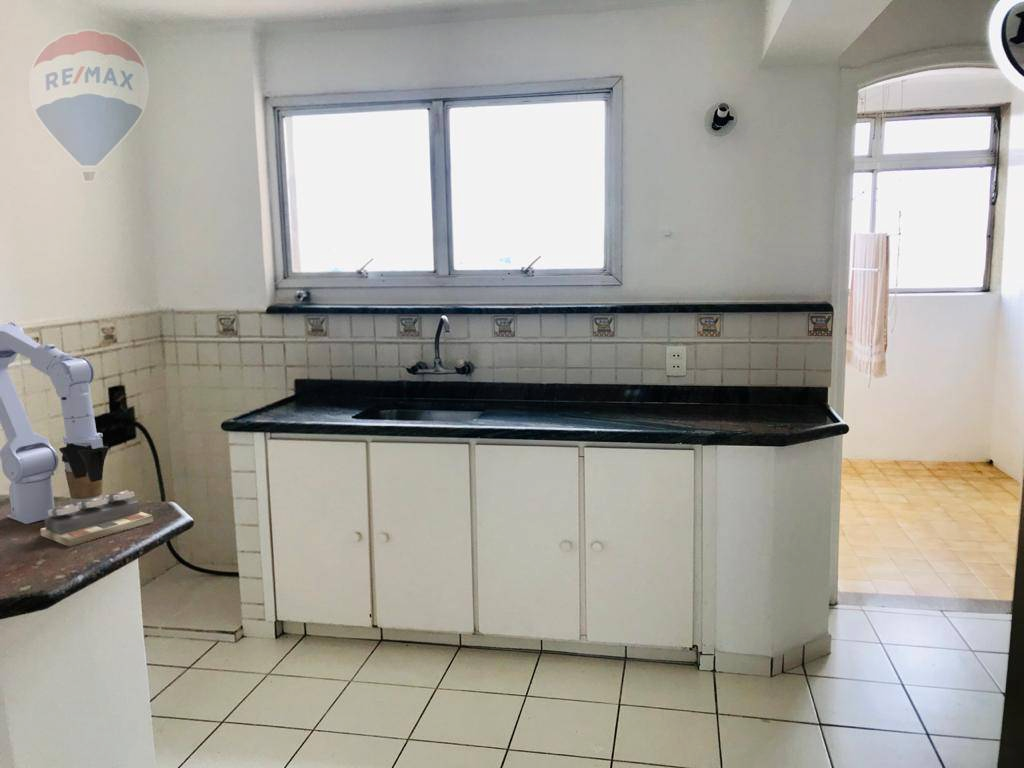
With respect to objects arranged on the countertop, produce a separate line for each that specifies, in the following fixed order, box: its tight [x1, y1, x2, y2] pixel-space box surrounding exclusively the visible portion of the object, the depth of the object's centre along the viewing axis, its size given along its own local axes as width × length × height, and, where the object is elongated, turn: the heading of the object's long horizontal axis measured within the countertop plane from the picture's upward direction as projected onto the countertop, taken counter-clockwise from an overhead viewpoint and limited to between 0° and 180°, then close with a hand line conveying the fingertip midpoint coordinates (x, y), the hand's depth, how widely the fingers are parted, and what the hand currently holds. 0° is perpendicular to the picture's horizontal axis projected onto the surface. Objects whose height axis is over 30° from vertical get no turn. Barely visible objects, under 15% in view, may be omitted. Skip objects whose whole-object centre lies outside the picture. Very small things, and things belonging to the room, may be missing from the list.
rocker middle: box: [77, 496, 108, 510], centre depth 176 cm, size 6×4×2 cm, turn 54°
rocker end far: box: [103, 489, 136, 502], centre depth 181 cm, size 6×4×2 cm, turn 54°
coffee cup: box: [61, 454, 104, 509], centre depth 188 cm, size 8×8×15 cm
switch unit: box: [39, 498, 154, 547], centre depth 175 cm, size 12×18×4 cm, turn 144°
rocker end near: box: [48, 503, 80, 517], centre depth 171 cm, size 6×4×2 cm, turn 54°
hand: (88, 479), depth 175 cm, fingers open, 7 cm apart
